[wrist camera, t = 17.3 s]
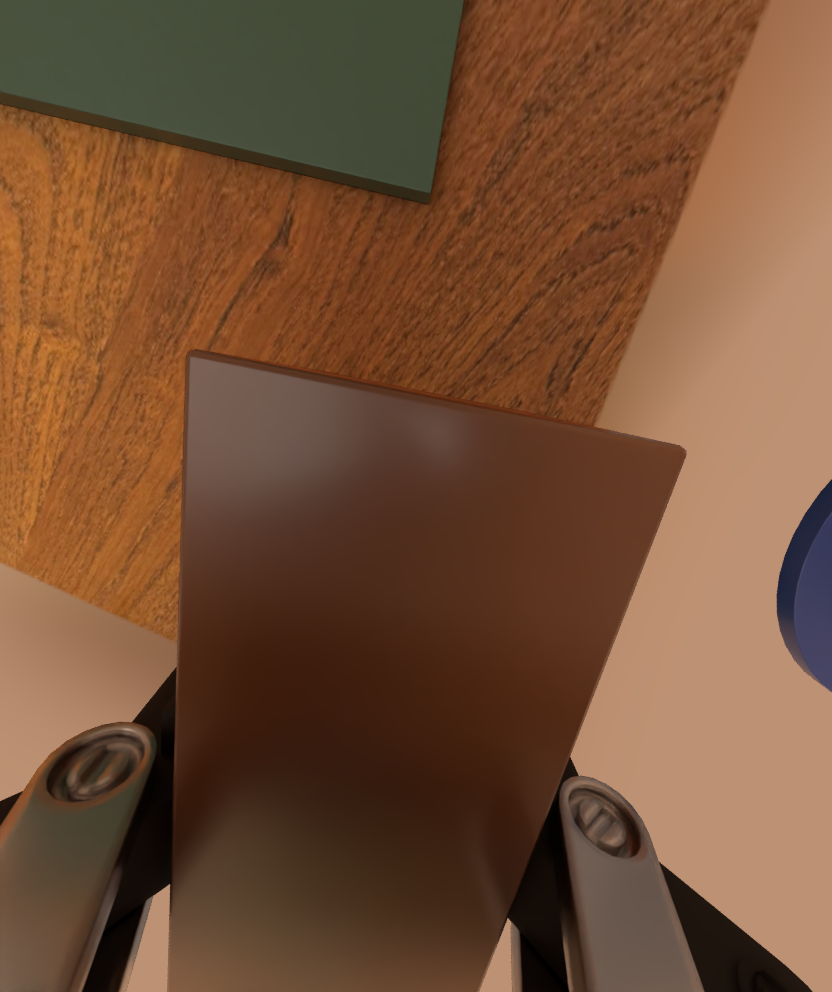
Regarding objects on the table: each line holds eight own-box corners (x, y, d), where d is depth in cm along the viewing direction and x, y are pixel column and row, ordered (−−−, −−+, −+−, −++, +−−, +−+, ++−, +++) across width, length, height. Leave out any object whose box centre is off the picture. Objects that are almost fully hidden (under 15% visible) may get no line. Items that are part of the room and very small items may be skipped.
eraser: (518, 410, 9) (693, 447, 3) (412, 821, 12) (419, 1153, 7) (320, 370, 8) (181, 345, 3) (268, 806, 12) (160, 1144, 7)
